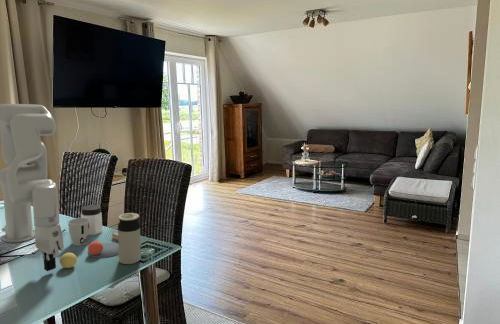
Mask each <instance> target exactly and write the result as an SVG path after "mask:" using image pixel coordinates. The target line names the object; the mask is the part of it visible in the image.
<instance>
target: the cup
mask: <svg viewBox="0 0 500 324" xmlns="http://www.w3.org/2000/svg"><path fill="white" fill-rule="evenodd" d="M67 226H68V233H69V235H70V236H69V237H70V240H71V242H72V244H73V246H79V247H80V246H84V245H86V244H87V241H88V239H89V235H88V234H89V219H87V218H81V217H76V218H72V219H70V220H68V221H67Z"/></svg>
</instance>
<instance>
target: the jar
mask: <svg viewBox="0 0 500 324" xmlns="http://www.w3.org/2000/svg"><path fill="white" fill-rule="evenodd" d="M80 211H81V213H80V218H87V219H89V234H88V236H96V235H98V234H100V233H102V232H103V217H102V216H103V215H102V212H101V211H102V210H101V206H100V205H98V204H88V205H84V206H82V207H81V208H80Z"/></svg>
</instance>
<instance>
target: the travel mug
mask: <svg viewBox="0 0 500 324" xmlns="http://www.w3.org/2000/svg"><path fill="white" fill-rule="evenodd" d="M139 217H140V215H139V214H138V213H135V212H126V213H122V214H120V215H118V220H119V222H118V224H117V233H118V241H117V243H118V244H119V254H118V261H119V263H120V264H123V265H133V264H136V263H138V262H139V261H140V260H141V259H142V258H141V257H142V256H141V246H140V240H141V223H140V221H139Z"/></svg>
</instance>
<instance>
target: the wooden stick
mask: <svg viewBox="0 0 500 324" xmlns="http://www.w3.org/2000/svg"><path fill="white" fill-rule="evenodd" d="M111 235H112V237H111V238H112V240H115V241H117V242H118V231H117V232H113V233H112V234H111ZM140 247H142V241H141V239H140Z"/></svg>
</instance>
